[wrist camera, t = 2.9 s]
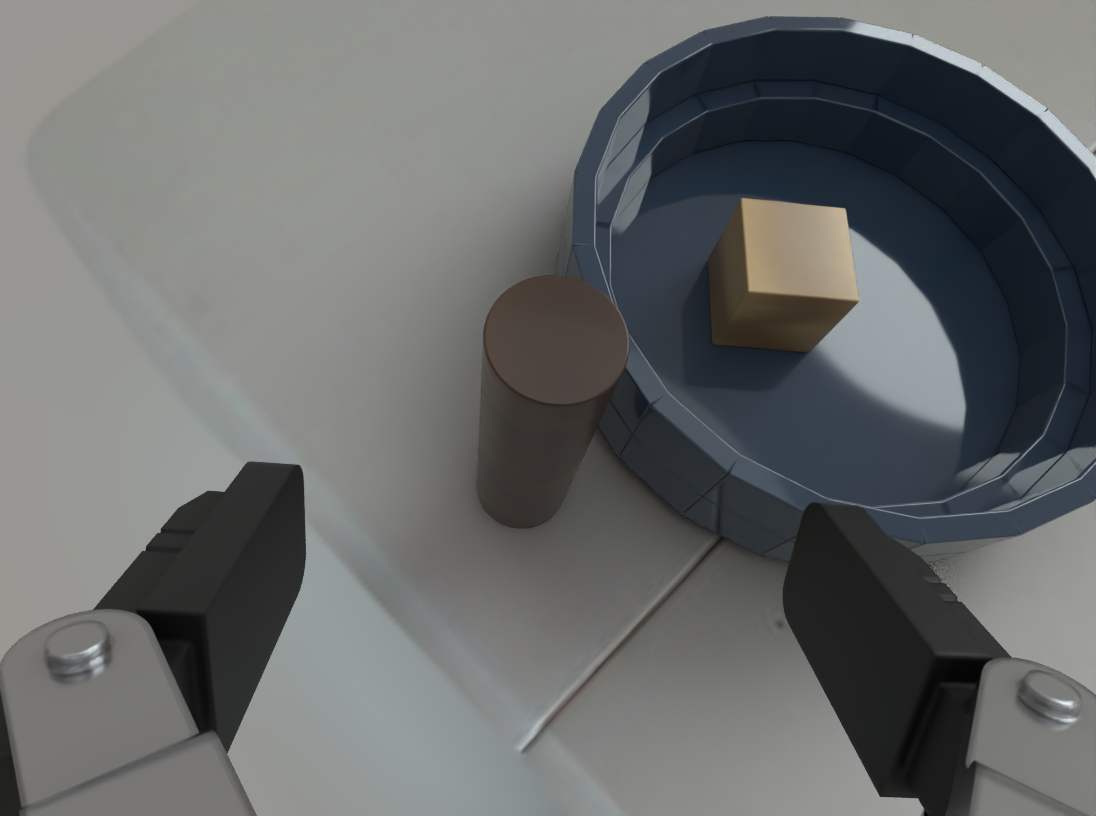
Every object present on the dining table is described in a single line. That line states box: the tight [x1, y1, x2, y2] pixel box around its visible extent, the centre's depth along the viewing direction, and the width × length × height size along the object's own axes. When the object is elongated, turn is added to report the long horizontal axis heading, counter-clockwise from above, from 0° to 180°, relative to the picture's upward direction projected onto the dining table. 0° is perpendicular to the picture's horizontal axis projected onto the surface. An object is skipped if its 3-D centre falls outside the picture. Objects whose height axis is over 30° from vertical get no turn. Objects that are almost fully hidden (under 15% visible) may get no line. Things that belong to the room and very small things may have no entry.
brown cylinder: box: [477, 275, 630, 528], centre depth 18 cm, size 3×3×10 cm
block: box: [708, 198, 859, 352], centre depth 24 cm, size 4×4×4 cm
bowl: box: [557, 16, 1096, 563], centre depth 24 cm, size 18×19×5 cm
